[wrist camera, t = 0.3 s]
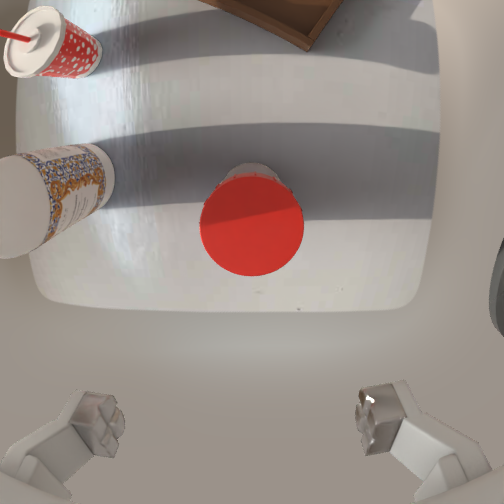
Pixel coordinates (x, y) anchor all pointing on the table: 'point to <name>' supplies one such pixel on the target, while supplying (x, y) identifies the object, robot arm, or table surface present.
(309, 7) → the tray
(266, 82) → the table surface
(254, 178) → the lid
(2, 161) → the bath foam
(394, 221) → the table surface
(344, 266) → the table surface
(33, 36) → the beverage cup
